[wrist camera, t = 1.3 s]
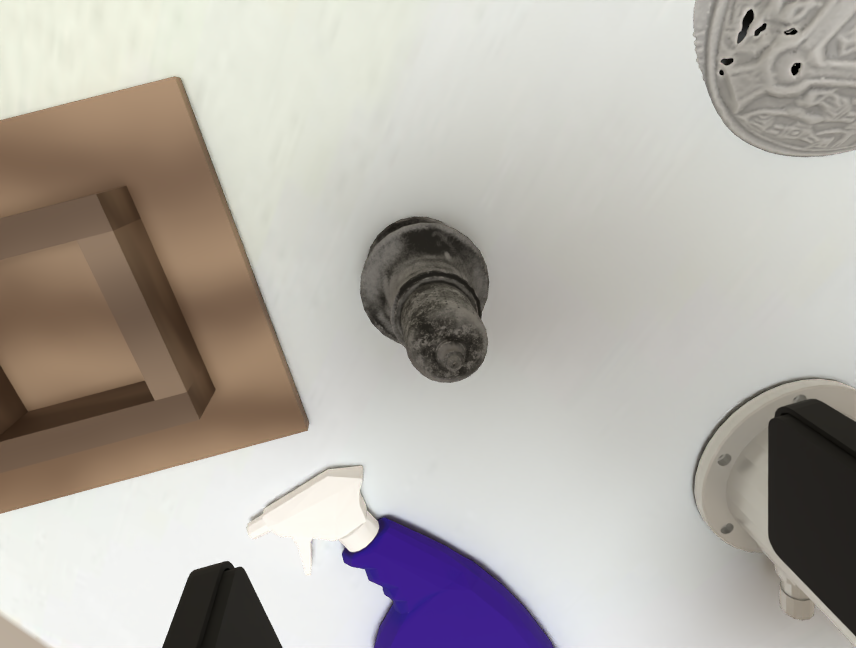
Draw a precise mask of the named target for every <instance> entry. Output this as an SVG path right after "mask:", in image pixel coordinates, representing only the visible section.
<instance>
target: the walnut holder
mask: <svg viewBox="0 0 856 648" xmlns="http://www.w3.org/2000/svg"><path fill="white" fill-rule="evenodd" d="M308 426H309V422H308V419H307V416H306V414H305V411H304V408H303V406H302V403H301V400H300V397H299V395H298V392H297V389H296V387H295V384H294V381H293V379H292V376H291V373H290V371H289V368H288V365H287V363H286V360H285V357H284V355H283V352H282V349H281V347H280V344H279V341H278V339H277V336H276V333H275V330H274V328H273V325H272V322H271V320H270V317H269V314H268V312H267V309H266V306H265V304H264V301H263V298H262V296H261V293H260V290H259V288H258V285H257V282H256V280H255V277H254V274H253V271H252V269H251V266H250V263H249V261H248V258H247V255H246V253H245V250H244V247H243V245H242V242H241V239H240V237H239V234H238V231H237V229H236V226H235V223H234V221H233V218H232V215H231V212H230V210H229V207H228V204H227V202H226V199H225V196H224V194H223V191H222V188H221V186H220V183H219V180H218V178H217V175H216V172H215V170H214V167H213V164H212V162H211V159H210V156H209V153H208V151H207V148H206V145H205V143H204V140H203V137H202V135H201V132H200V129H199V127H198V124H197V121H196V119H195V116H194V113H193V111H192V108H191V105H190V103H189V100H188V97H187V95H186V92H185V89H184V86H183V84H182V81H181V78H178V77H171V78H167V79H163V80H159V81H155V82H151V83H147V84H143V85H139V86H135V87H131V88H127V89H123V90H119V91H115V92H111V93H107V94H103V95H99V96H95V97H91V98H87V99H83V100H79V101H75V102H71V103H67V104H63V105H59V106H55V107H51V108H47V109H44V110H40V111H36V112H32V113H28V114H24V115H20V116H16V117H12V118H8V119H4V120H0V514H1V513H5V512H8V511H12V510H16V509H19V508H23V507H27V506H31V505H34V504H38V503H42V502H45V501H49V500H53V499H56V498H60V497H64V496H68V495H71V494H75V493H79V492H82V491H86V490H90V489H93V488H97V487H101V486H104V485H108V484H112V483H116V482H119V481H123V480H127V479H130V478H134V477H138V476H141V475H145V474H149V473H153V472H156V471H160V470H164V469H167V468H171V467H175V466H178V465H182V464H186V463H190V462H193V461H197V460H201V459H204V458H208V457H212V456H215V455H219V454H223V453H227V452H230V451H234V450H238V449H241V448H245V447H249V446H252V445H256V444H260V443H264V442H267V441H271V440H275V439H278V438H282V437H286V436H289V435H293V434H297V433H301V432H304V431H308Z"/></svg>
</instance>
